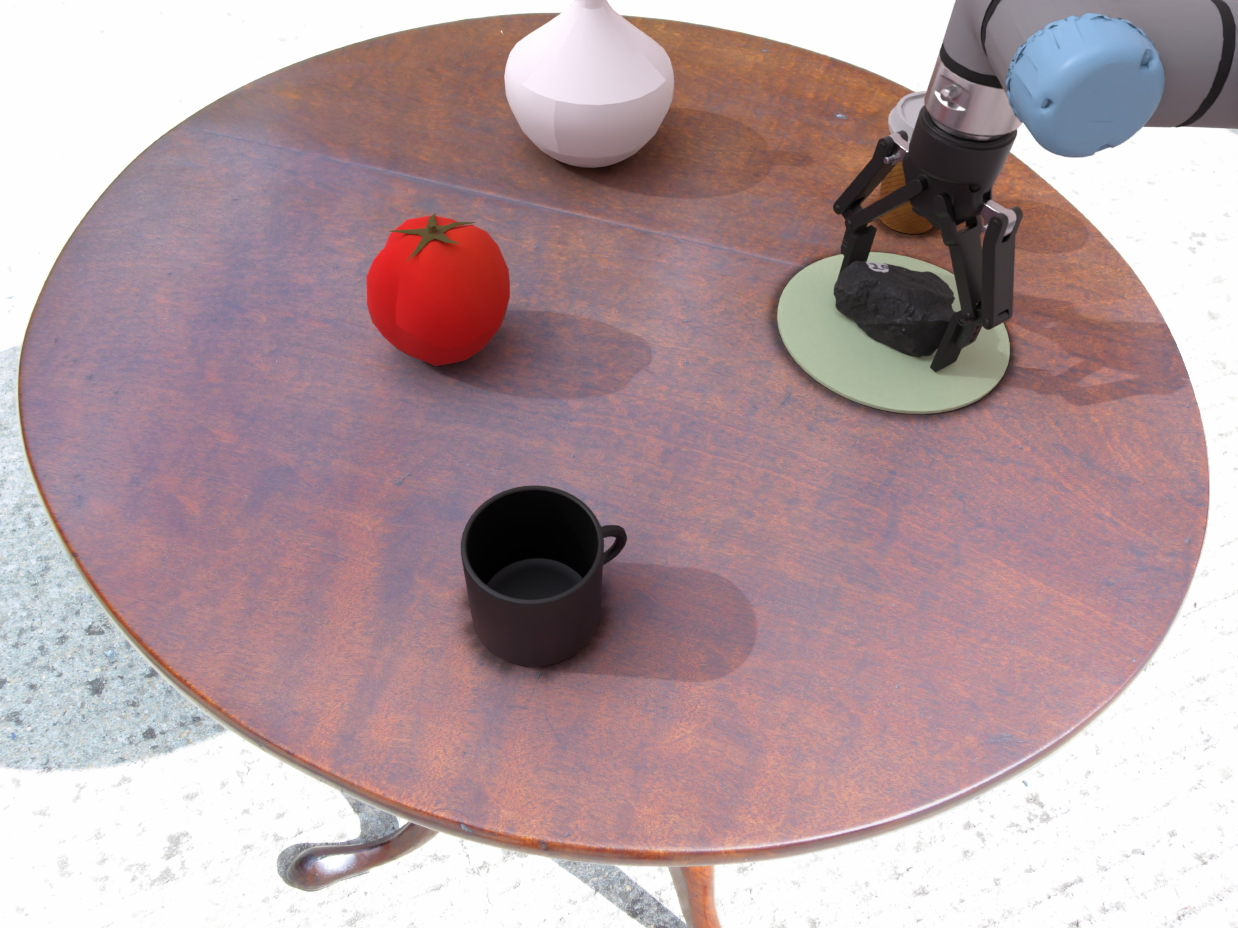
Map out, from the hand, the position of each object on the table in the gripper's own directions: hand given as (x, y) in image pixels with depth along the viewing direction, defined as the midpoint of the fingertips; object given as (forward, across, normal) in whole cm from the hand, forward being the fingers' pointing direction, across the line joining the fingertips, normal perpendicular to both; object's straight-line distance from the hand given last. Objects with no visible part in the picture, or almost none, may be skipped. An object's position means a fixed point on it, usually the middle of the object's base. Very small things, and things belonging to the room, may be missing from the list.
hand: (893, 323), depth 88 cm
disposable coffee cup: (+1, -12, +14) cm, 18 cm away
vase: (+1, -41, -8) cm, 42 cm away
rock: (0, 0, 0) cm, 0 cm away
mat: (+1, 0, 0) cm, 1 cm away
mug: (+1, +8, -43) cm, 44 cm away
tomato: (+1, -20, -37) cm, 42 cm away
